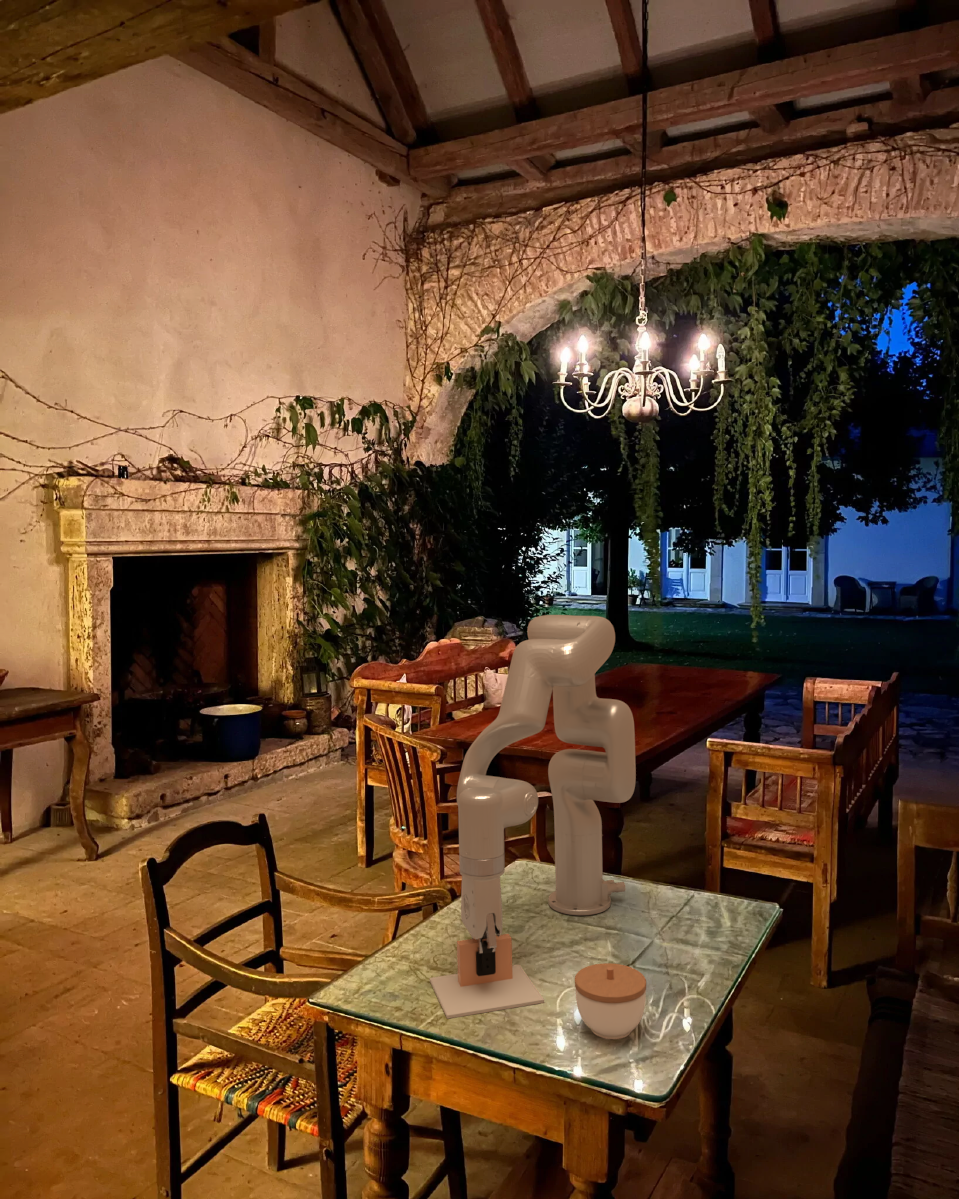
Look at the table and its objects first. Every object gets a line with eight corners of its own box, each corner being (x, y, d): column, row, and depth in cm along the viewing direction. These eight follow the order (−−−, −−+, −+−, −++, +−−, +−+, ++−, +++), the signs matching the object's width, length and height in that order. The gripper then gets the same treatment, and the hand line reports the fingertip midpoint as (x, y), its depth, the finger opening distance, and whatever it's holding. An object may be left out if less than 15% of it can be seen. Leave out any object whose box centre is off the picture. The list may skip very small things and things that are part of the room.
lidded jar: (562, 1034, 138) (561, 974, 137) (595, 1004, 146) (594, 946, 146) (628, 1056, 131) (627, 992, 131) (658, 1022, 140) (657, 963, 140)
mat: (519, 967, 160) (519, 964, 160) (544, 1002, 147) (544, 999, 147) (429, 980, 155) (429, 977, 155) (447, 1018, 143) (447, 1015, 143)
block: (509, 973, 156) (508, 933, 156) (512, 978, 154) (511, 938, 154) (458, 981, 154) (456, 940, 153) (460, 986, 152) (459, 945, 152)
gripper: (449, 850, 160) (451, 954, 161) (472, 881, 144) (474, 996, 145) (490, 846, 162) (492, 948, 163) (517, 876, 146) (519, 989, 147)
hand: (484, 970), depth 154 cm, fingers closed on block
